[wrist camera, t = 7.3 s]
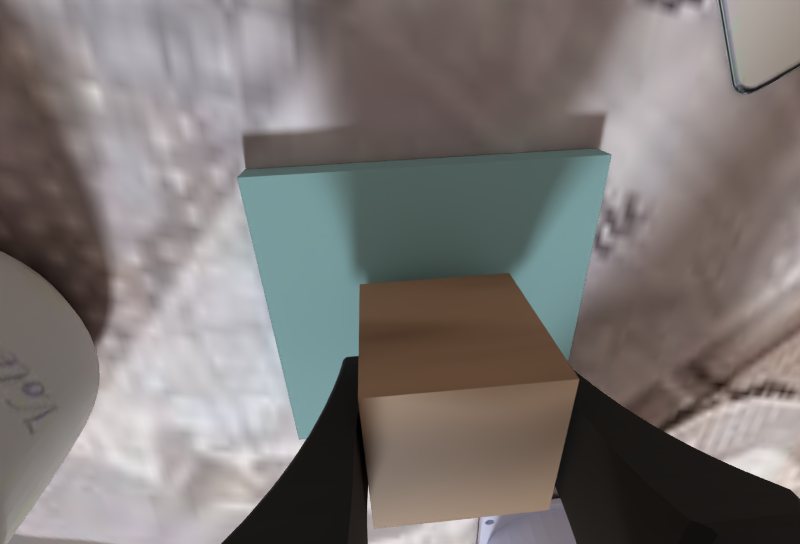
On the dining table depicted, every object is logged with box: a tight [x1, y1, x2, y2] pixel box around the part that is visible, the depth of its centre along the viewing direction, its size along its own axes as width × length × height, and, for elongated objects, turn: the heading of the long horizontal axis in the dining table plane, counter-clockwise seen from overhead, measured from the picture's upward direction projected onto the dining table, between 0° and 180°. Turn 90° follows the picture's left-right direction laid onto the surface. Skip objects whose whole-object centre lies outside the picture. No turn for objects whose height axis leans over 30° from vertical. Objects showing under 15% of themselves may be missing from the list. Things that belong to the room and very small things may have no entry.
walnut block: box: [358, 273, 579, 529], centre depth 12 cm, size 5×5×5 cm
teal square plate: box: [237, 148, 611, 439], centre depth 16 cm, size 12×12×1 cm
